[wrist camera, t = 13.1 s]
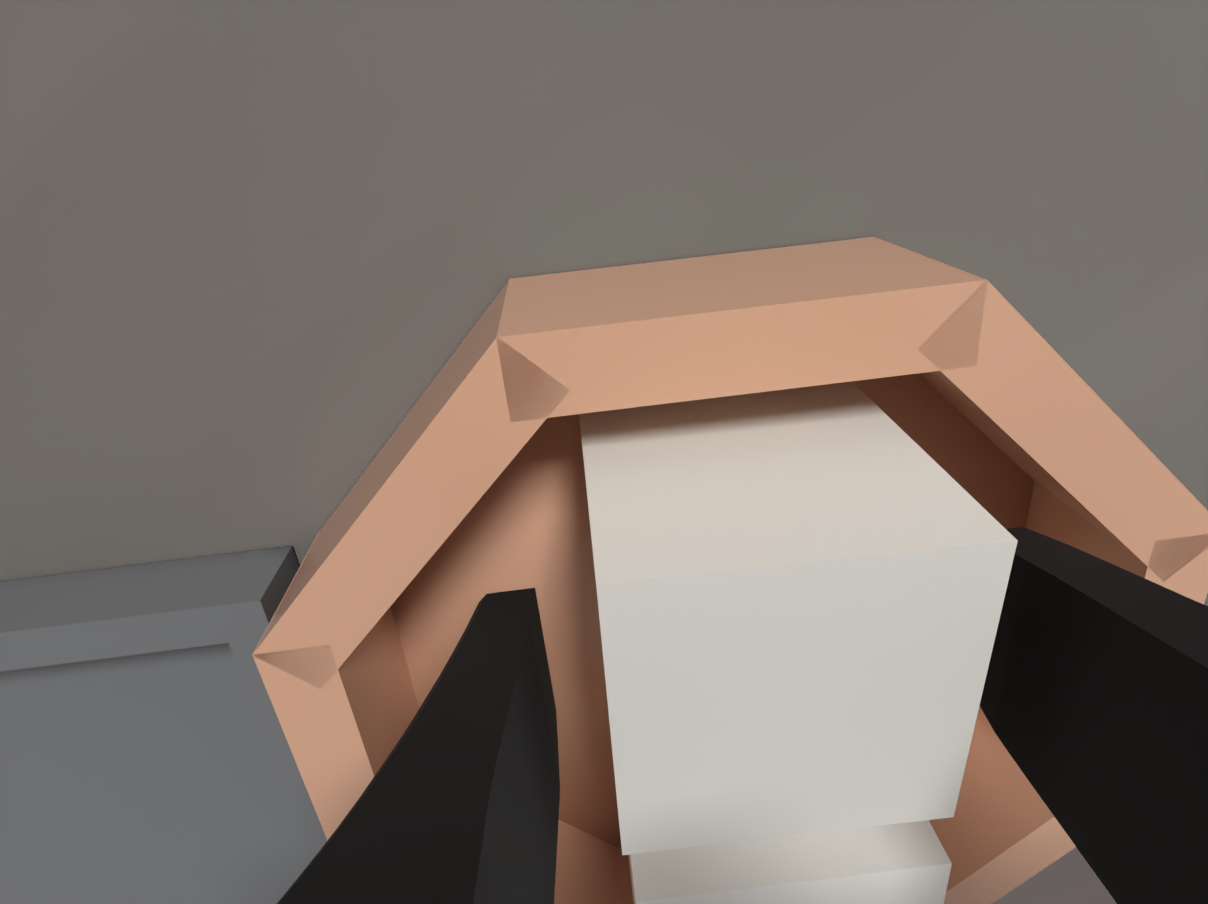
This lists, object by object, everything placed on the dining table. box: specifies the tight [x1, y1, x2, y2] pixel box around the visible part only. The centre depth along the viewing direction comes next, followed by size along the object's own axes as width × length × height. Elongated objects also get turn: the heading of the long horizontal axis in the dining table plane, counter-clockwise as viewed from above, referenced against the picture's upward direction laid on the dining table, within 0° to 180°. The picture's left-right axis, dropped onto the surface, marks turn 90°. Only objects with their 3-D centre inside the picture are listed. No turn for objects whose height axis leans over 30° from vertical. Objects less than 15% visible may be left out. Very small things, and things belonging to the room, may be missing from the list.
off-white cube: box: [579, 381, 1018, 855], centre depth 10 cm, size 4×4×4 cm
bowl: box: [252, 236, 1208, 904], centre depth 12 cm, size 13×13×3 cm
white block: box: [628, 820, 952, 904], centre depth 12 cm, size 4×4×4 cm
